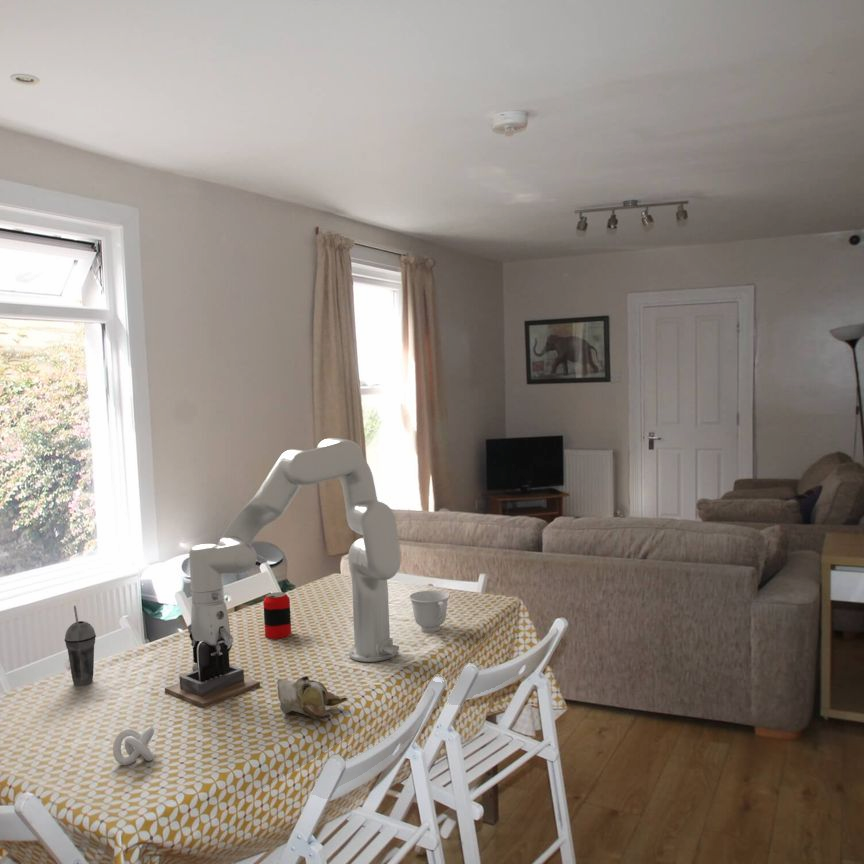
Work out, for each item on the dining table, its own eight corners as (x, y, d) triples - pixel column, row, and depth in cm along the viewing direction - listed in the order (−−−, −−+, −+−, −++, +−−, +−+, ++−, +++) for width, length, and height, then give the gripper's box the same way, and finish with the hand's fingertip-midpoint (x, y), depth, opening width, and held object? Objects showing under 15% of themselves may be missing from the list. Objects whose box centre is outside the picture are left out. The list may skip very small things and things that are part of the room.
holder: (259, 685, 193) (259, 669, 193) (203, 707, 181) (202, 690, 181) (221, 672, 204) (220, 656, 204) (165, 691, 192) (164, 675, 191)
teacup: (426, 641, 223) (424, 606, 222) (403, 627, 236) (402, 594, 235) (463, 633, 228) (462, 599, 228) (439, 620, 242) (438, 588, 241)
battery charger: (206, 692, 188) (204, 644, 187) (197, 688, 190) (194, 641, 190) (231, 682, 193) (228, 636, 193) (221, 679, 196) (219, 634, 195)
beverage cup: (105, 678, 202) (100, 601, 201) (84, 689, 195) (79, 609, 194) (82, 676, 204) (77, 599, 203) (60, 686, 198) (55, 607, 196)
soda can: (259, 637, 231) (257, 597, 230) (274, 630, 238) (272, 590, 237) (282, 640, 228) (280, 599, 227) (296, 632, 235) (294, 592, 234)
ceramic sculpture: (289, 663, 183) (348, 672, 179) (288, 700, 184) (348, 709, 179) (265, 681, 173) (328, 691, 168) (265, 719, 174) (328, 730, 169)
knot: (134, 747, 162) (132, 720, 162) (167, 751, 160) (166, 723, 160) (109, 765, 155) (107, 736, 155) (143, 769, 153) (142, 740, 152)
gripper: (242, 597, 188) (245, 668, 189) (200, 587, 200) (204, 654, 201) (215, 605, 183) (219, 678, 184) (174, 594, 194) (177, 662, 195)
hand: (211, 665), depth 192 cm, fingers open, 9 cm apart
